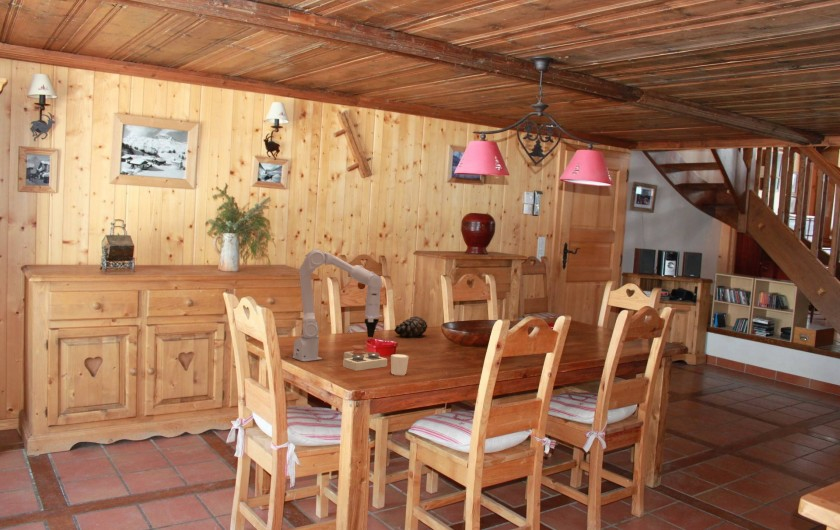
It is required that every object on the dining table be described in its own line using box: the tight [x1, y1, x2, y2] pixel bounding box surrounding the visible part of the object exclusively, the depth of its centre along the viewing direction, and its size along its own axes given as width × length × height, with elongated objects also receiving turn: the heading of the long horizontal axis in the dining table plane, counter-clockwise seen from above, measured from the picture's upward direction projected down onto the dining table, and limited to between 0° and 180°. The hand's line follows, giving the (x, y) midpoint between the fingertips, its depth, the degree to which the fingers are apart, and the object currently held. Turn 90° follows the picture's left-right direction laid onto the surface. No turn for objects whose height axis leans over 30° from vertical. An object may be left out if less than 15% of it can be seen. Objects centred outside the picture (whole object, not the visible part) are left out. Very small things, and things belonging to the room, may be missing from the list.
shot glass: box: [390, 353, 409, 376], centre depth 274 cm, size 7×7×7 cm
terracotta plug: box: [352, 344, 365, 355], centre depth 291 cm, size 5×5×4 cm
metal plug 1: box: [352, 354, 364, 362], centre depth 279 cm, size 5×5×4 cm
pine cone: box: [394, 315, 428, 339], centre depth 353 cm, size 10×18×10 cm, turn 141°
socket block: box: [342, 350, 388, 372], centre depth 285 cm, size 16×18×3 cm
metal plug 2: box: [367, 351, 380, 360], centre depth 284 cm, size 5×5×4 cm
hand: (370, 336), depth 291 cm, fingers closed
